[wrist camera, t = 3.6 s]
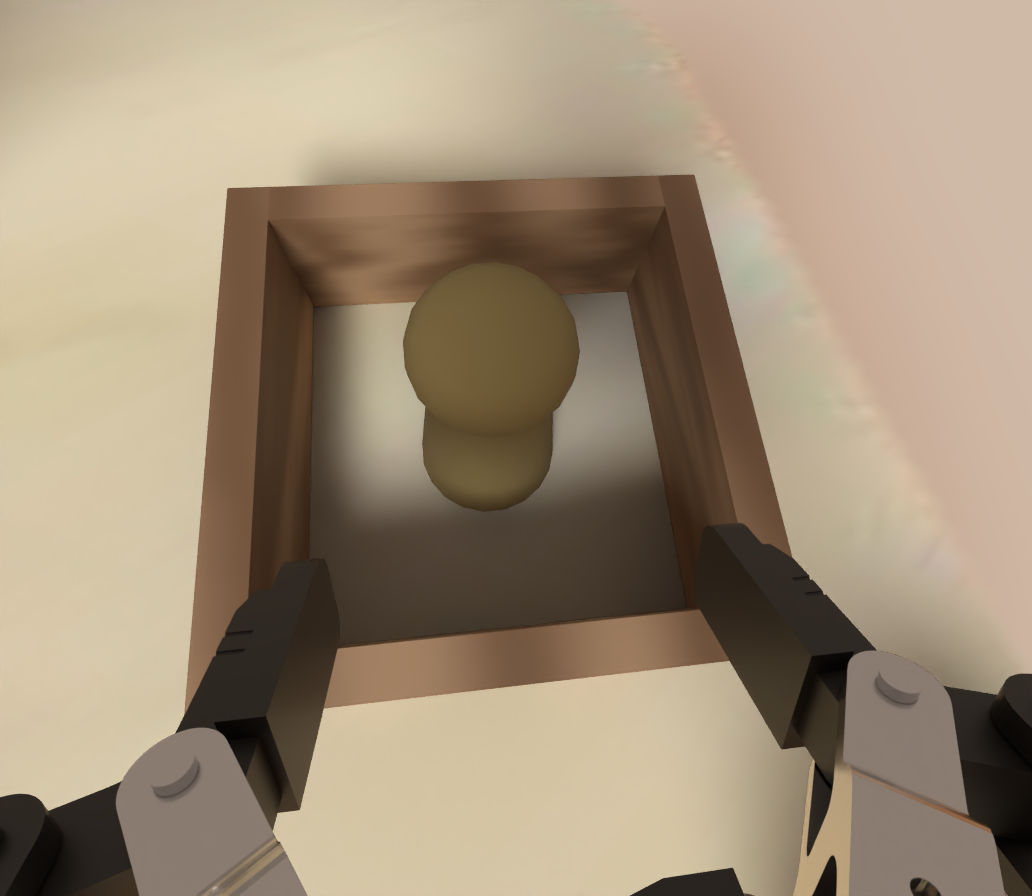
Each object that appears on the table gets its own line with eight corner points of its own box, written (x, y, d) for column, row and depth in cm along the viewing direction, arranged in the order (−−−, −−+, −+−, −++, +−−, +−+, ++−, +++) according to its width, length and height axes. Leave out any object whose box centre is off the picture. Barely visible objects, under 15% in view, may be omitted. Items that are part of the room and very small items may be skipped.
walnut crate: (264, 696, 21) (183, 724, 15) (281, 280, 27) (227, 188, 21) (731, 643, 23) (816, 650, 17) (651, 264, 28) (694, 174, 23)
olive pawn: (478, 364, 26) (476, 191, 16) (577, 438, 25) (647, 307, 15) (394, 456, 24) (329, 331, 14) (498, 538, 23) (513, 472, 13)
